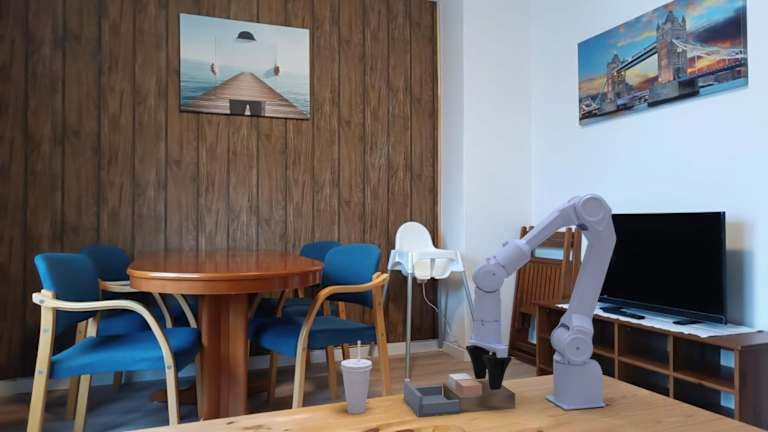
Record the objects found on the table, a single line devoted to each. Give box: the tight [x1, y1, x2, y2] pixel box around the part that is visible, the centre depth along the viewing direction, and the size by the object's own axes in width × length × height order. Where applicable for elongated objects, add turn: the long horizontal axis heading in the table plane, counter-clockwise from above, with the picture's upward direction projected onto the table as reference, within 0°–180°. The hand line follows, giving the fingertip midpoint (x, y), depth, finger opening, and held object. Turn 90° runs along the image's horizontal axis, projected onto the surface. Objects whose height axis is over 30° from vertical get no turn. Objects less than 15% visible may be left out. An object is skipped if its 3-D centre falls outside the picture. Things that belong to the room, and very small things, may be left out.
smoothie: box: [340, 340, 373, 415], centre depth 106 cm, size 6×6×14 cm
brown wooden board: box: [442, 379, 516, 414], centre depth 111 cm, size 12×10×3 cm
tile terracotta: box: [456, 378, 482, 396], centre depth 108 cm, size 4×4×2 cm
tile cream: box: [448, 372, 474, 389], centre depth 113 cm, size 4×4×2 cm
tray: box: [403, 379, 461, 418], centre depth 109 cm, size 8×11×4 cm
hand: (487, 383), depth 112 cm, fingers open, 7 cm apart
